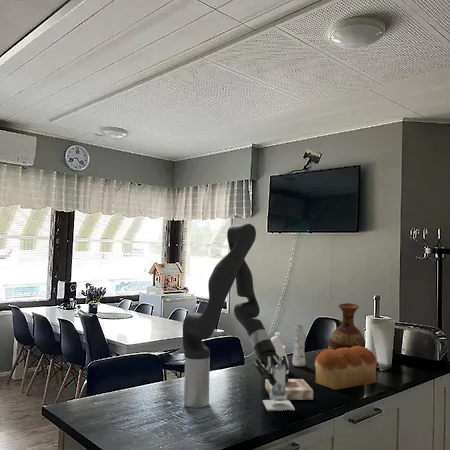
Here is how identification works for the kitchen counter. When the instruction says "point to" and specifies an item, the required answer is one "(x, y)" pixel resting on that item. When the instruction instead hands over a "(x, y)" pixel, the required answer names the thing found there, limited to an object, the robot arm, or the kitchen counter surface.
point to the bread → (345, 367)
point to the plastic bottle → (299, 347)
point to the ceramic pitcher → (346, 330)
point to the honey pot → (279, 348)
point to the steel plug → (278, 383)
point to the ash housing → (294, 389)
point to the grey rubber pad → (278, 405)
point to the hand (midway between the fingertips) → (280, 383)
